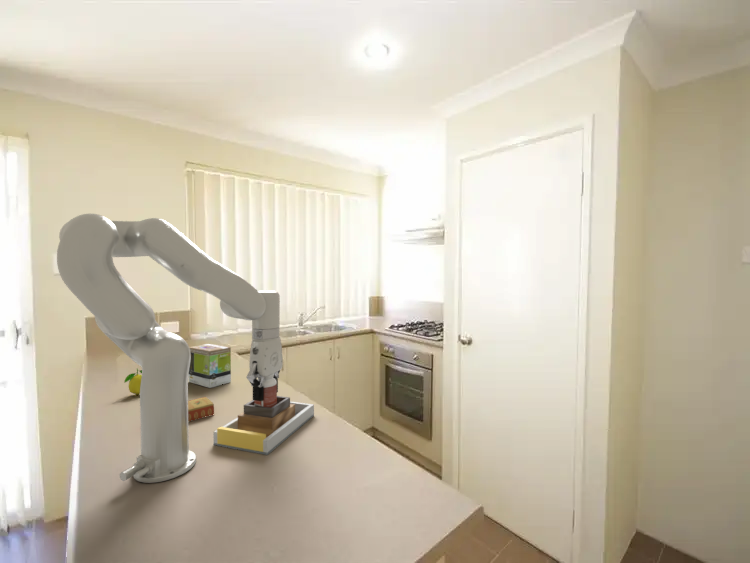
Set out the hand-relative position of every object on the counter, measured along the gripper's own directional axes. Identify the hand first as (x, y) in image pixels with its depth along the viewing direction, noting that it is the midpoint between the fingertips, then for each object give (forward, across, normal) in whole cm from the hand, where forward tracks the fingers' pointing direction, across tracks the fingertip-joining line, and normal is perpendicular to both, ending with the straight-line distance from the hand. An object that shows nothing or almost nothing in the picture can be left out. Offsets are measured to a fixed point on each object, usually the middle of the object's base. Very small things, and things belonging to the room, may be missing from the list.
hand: (265, 395), depth 101 cm
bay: (+10, +1, 0) cm, 10 cm away
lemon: (+11, +11, +62) cm, 64 cm away
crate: (+9, +1, 0) cm, 9 cm away
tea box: (+10, +31, +48) cm, 58 cm away
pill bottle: (+4, 0, 0) cm, 4 cm away
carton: (+11, 0, +30) cm, 32 cm away
